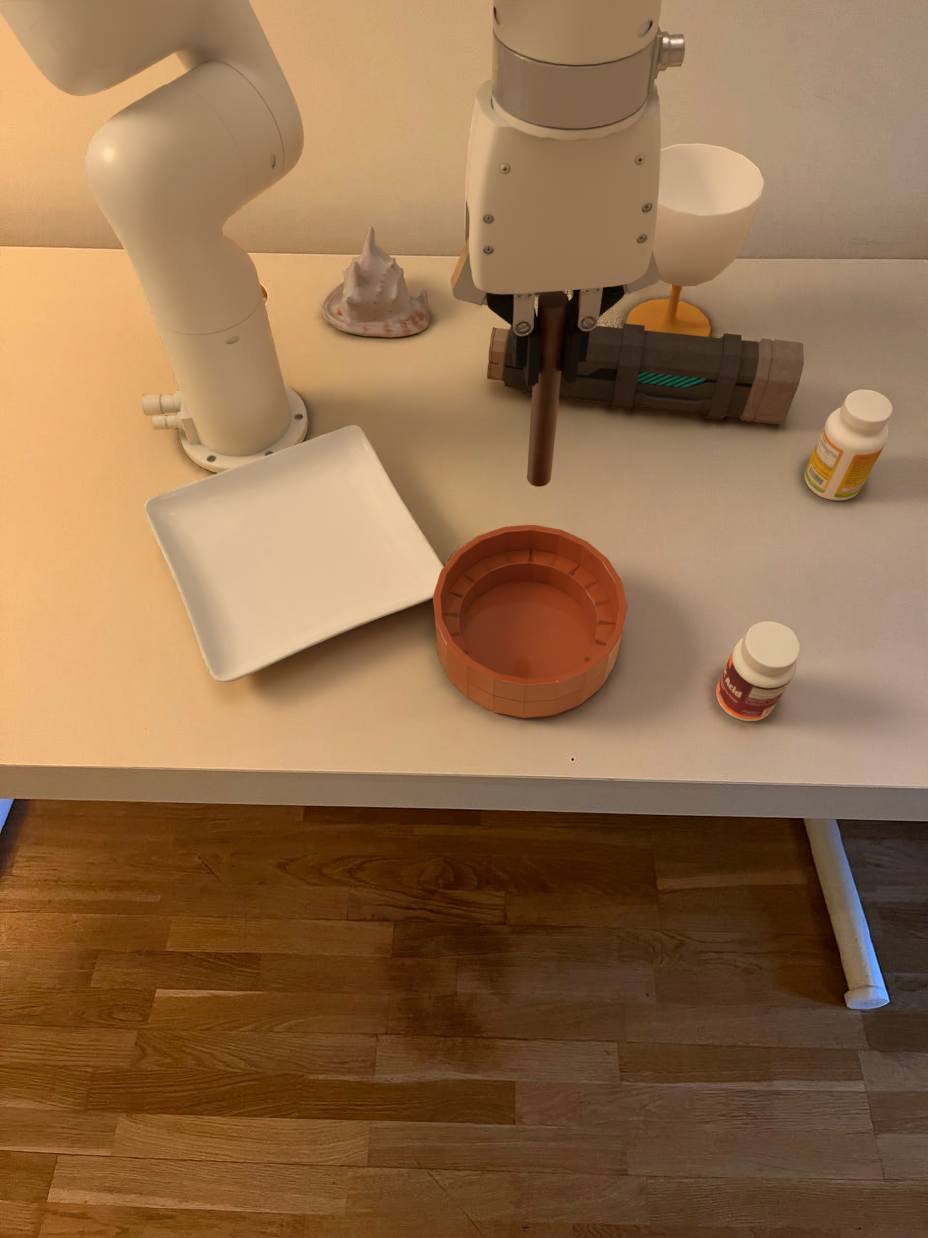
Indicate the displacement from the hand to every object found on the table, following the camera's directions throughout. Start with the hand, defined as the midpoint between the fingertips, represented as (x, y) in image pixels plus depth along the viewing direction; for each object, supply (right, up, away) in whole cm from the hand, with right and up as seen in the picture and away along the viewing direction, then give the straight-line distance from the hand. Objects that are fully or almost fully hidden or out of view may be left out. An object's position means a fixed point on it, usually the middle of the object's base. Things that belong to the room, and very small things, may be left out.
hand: (547, 368), depth 58 cm
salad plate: (-20, -11, +23) cm, 33 cm away
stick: (0, -6, +9) cm, 11 cm away
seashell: (-15, +18, +42) cm, 48 cm away
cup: (+17, +15, +40) cm, 46 cm away
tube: (+12, +6, +34) cm, 36 cm away
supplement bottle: (+30, -3, +28) cm, 41 cm away
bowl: (0, -18, +18) cm, 26 cm away
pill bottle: (+17, -23, +15) cm, 32 cm away
